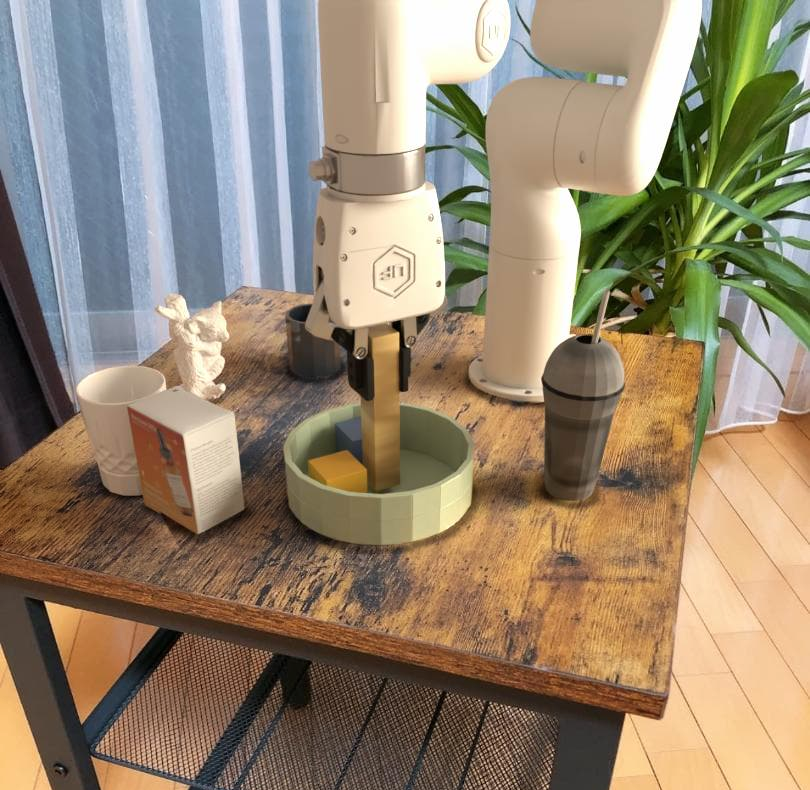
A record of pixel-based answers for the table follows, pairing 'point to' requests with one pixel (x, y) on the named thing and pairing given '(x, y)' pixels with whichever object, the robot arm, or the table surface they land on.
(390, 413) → the tan wooden bar
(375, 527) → the bowl
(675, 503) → the table surface
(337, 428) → the blue block
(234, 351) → the table surface
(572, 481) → the beverage cup
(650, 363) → the table surface
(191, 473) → the small box
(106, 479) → the white cup
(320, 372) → the utensil pot
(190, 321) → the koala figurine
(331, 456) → the mustard block
